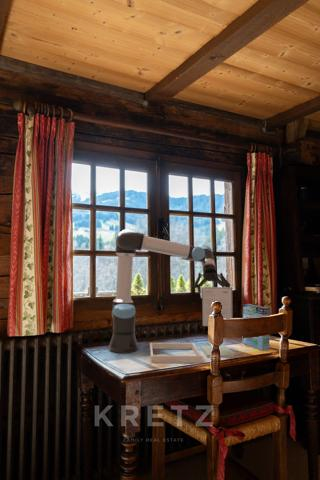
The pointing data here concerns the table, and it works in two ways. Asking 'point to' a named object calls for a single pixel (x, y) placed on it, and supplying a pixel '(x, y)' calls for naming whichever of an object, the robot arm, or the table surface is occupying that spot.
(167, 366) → the table surface
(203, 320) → the hard drive box
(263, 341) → the gum box
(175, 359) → the frame
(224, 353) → the mat
